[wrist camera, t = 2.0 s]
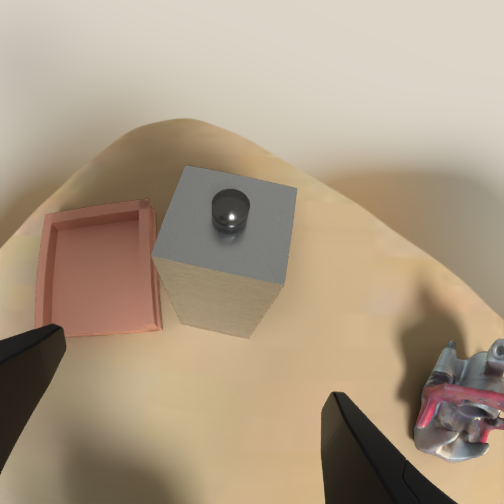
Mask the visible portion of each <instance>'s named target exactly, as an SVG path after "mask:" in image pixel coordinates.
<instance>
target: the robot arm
mask: <svg viewBox="0 0 504 504" xmlns="http://www.w3.org/2000/svg"><path fill="white" fill-rule="evenodd" d="M65 351H66V341H65V334H64V329H63V327H61V326H59V325H57V324H54V323H52V324H48V325H45V326H42V327H39V328H36V329H33V330H30V331H27V332H24V333H21V334H18V335H15V336H12V337H9V338H6V339H3V340H0V474H1V471H2V470H3V467H4V465H5V463H6V461H7V459H8V457H9V455H10V453H11V451H12V449H13V447H14V446H15V444H16V442H17V440H18V438H19V436H20V434H21V432H22V431H23V429H24V427H25V425H26V423H27V422H28V420H29V418H30V416H31V415H32V413H33V411H34V409H35V408H36V406H37V404H38V403H39V401H40V399H41V398H42V396H43V394H44V393H45V391H46V389H47V388H48V386H49V384H50V382H51V380H52V378H53V376H54V374H55V372H56V370H57V368H58V365H59V363H60V361H61V359H62V357H63V355H64V353H65ZM321 461H322V471H323V481H324V492H325V504H458V503H456V502H455V501H454V500H452V499H451V498H450V497H449V496H447V495H446V494H445V493H444V492H442V491H441V490H440V489H439V488H437V487H436V486H435V485H434V484H432V483H431V482H430V481H429V480H428V479H427V478H426V477H424V476H423V475H422V474H421V473H420V472H419V471H418V470H417V469H416V468H415V467H414V466H413V465H412V464H411V463H410V462H409V461H408V460H406V458H405V457H404V456H403V455H402V454H401V453H400V451H399V450H398V449H397V448H396V447H395V446H394V445H393V444H392V443H391V442H390V441H389V440H388V439H387V438H386V437H385V436H384V435H383V434H382V432H381V431H380V430H379V429H378V428H377V427H376V426H375V425H374V424H373V423H372V422H371V421H370V420H369V419H368V418H367V416H366V415H365V414H364V413H363V412H362V411H361V410H360V409H359V408H358V407H357V406H356V405H355V403H354V402H353V401H352V400H351V399H350V398H349V397H348V396H347V395H346V394H345V393H344V392H335V391H334V392H331V394H330V395H329V397H328V399H327V401H326V403H325V404H324V406H323V408H322V412H321Z"/></svg>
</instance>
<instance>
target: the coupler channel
mask: <svg viewBox="0 0 504 504" xmlns="http://www.w3.org/2000/svg"><path fill="white" fill-rule="evenodd" d="M155 242H156V213H155V210H154V208H151V204H150V200H149V198H148V199H140V200H133V201H125V202H118V203H111V204H104V205H98V206H91V207H85V208H79V209H73V210H67V211H61V212H55V213H50V214H46V216H45V221H44V227H43V233H42V239H41V246H40V254H39V262H38V272H37V283H36V298H35V329H36V328H39V327H42V326H45V325H48V324H52V323H54V324H57V325H59V326H61V327H63V329H64V334H65V337H74V336H94V335H110V334H124V333H137V332H149V331H159V330H163V328H162V317H161V306H160V294H159V280H158V271H157V269H156V266H155V264H154V262H153V259H152V257H151V254H152V251H153V248H154V245H155Z"/></svg>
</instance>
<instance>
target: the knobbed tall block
mask: <svg viewBox="0 0 504 504" xmlns="http://www.w3.org/2000/svg"><path fill="white" fill-rule="evenodd" d="M296 195H297V188H294V187H289V186H285V185H281V184H277V183H272V182H268V181H263V180H259V179H254V178H249V177H245V176H240V175H235V174H230V173H225V172H220V171H215V170H210V169H204V168H199V167H193V166H188V165H185V168H184V170H183V172H182V175H181V177H180V180H179V182H178V184H177V187H176V189H175V192H174V194H173V197H172V199H171V202H170V205H169V207H168V210H167V212H166V215H165V218H164V220H163V223H162V226H161V228H160V231H159V234H158V237H157V239H156V242H155V245H154V248H153V251H152V254H151V257H152V259H153V262H154V264H155V266H156V269H157V271H158V273H159V276H160V278H161V280H162V282H163V285H164V287H165V289H166V291H167V294H168V296H169V298H170V300H171V302H172V304H173V307H174V309H175V311H176V313H177V315H178V317H179V319H180V321H181V323H182V324H184V325H188V326H193V327H197V328H201V329H205V330H210V331H214V332H219V333H223V334H228V335H232V336H237V337H242V338H247V339H248V338H249V337H250V336H251V334H252V333H253V331H254V330H255V328H256V327H257V325H258V324H259V322H260V321H261V319H262V318H263V316H264V315H265V313H266V312H267V310H268V309H269V307H270V306H271V304H272V303H273V301H274V300H275V298H276V297H277V295H278V294H279V292H280V291H281V289H282V288H283V286H284V283H285V276H286V269H287V262H288V255H289V248H290V241H291V233H292V226H293V218H294V210H295V203H296Z"/></svg>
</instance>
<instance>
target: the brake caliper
mask: <svg viewBox="0 0 504 504" xmlns="http://www.w3.org/2000/svg"><path fill="white" fill-rule="evenodd" d="M421 403H422V405H421V409H420V412H419V416H418V418H417V421H416V425H415V426H414V430H413V431H414V442H415V446H416V448H417V449H418V450H420V451H422V452H424V453H427V454H431V455H435V456H438V457H440V458H441V459H443V460H445V461H447V462H450V463H459V462H463V461H466V460H469V459H473V458H477V457H480V456H482V455H484V454H485V453H486V452H487V451H488V448H489V444H488V443H486V440H487V437H488V434H489V432H490V431H491V430H493V429H500V430H504V418H500V417H499V415H500V412H501V411H503V412H504V339H497V340H496V341H495V342H494V343H493V344H492V345H491V347H490V349H489V351H488V352H486V351H483V352H480V353H477V354H475V355H473V356H472V357H471V358H469V359H467V360H462V359H458V358H457V356H456V344H455V342H454V341H450V342H449V343H448V344H447V345H446V347H445V348H444V349H443V350H442V352H441V353H440V355H439V358H438V360H437V362H436V364H435V366H434V369H433V371H432V373H431V375H430V377H429V378H428V380H427V381H426V383H425V385H424V387H423V391H422V393H421Z"/></svg>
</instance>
